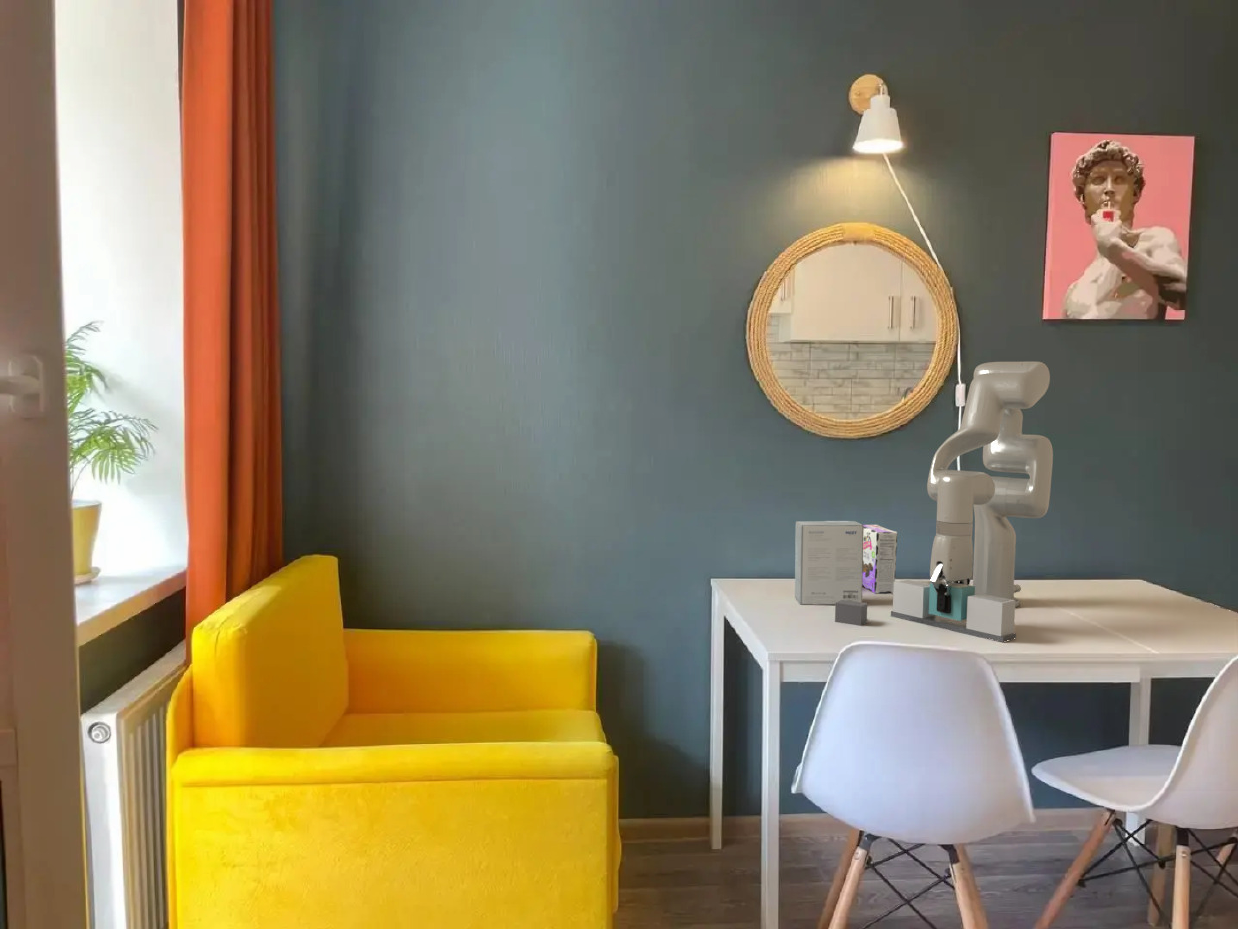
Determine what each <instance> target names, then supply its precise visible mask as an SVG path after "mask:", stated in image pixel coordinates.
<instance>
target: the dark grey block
mask: <svg viewBox="0 0 1238 929" xmlns="http://www.w3.org/2000/svg"><path fill="white" fill-rule="evenodd" d="M834 622H835V623H838V624H839V623H840V624H844V625H846V624H847V625H853V626H860V627H862V626H864V625H865V624H866V623H867V622H868V603H867V602H863V601H862V602H854V601H847V600H840V601H838V602H836V604H835V609H834Z"/></svg>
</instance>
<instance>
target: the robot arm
mask: <svg viewBox="0 0 1238 929" xmlns="http://www.w3.org/2000/svg"><path fill="white" fill-rule="evenodd" d="M1050 378H1051V374H1050V369H1049V368H1048V366H1047V365H1046V364H1045V363H1043V362H1042V361H993V362H992V361H990V362H984V363H981V364H979V365H977V366H976V367H975V369H974V371H973V379H972V381H971V382H970V385H969V389H968V393H967V398H966V402H965V407H964V411H963V415H962V419H961V423H960V427H959V429H958V430H956V432H954V433H953V434H951V435H950V436H949V437H947V439H946V440H945V441H944V442H943V443H942V444H941V445H940V446H939V447H938V448H937V450H936V451H935V454H934V455H933V458H932V460H931V465H930V468H929V473H928V477H927V483H926V488H927V494H928V496H929V497H930V499H932V500H933V501H934V502H936V525H935V526H936V527H935V528H936V529H935V532H936V533H935V535H934V539H933V542H932V543H933V544H932V548H931V556H930V557H931V558H930V567H929V577H930V582H929V583H932V585H933V586H934V588H935V590H936V594H937V611H938V612H942V613H947V614H949V613H951V596H950V595H949V594H950V589H951V584H952V582H954V583H960V584H965V585H970V582H971V580H972V586H975V595H977V594H985V595H990V596H995V597H1000V598H1005V599H1011V600H1015V608H1017V607H1019V606H1020V605H1021V600H1020V599H1019V598H1017V597H1015V596H1014V595H1015V593H1020V592H1021V590H1022V586H1021V585H1019V584H1015V568H1016V567H1015V565H1016V545H1017V544H1016V543H1017V534H1016V530H1015V529H1014V527H1013V525H1012V524H1011V522H1010V521H1009V519H1008V518H1007V517H1009V518H1010V517H1013V518H1025V519H1039V518H1043V517H1045V515H1046V514H1047V512H1048V510H1049V506H1050V498H1051V487H1052V486H1051V485H1052V475H1053V462H1054V460H1053V459H1054V449H1053V446H1052V443H1051V441H1050V439H1049V438H1048V437H1047V436H1044V435H1039V434H1023V419H1024V415H1023V412H1022V410H1025V409H1030V408H1032V407H1034V406H1035V404H1036V403H1038V401H1039V400H1041V398H1042V397H1044V395H1045V394H1046V392H1047V390H1048V389H1049V386H1050V382H1051V379H1050ZM982 447H983V449H982V463H983V465H984V467H985V468H986V469H987V470H989V471H993V472H1001V473H1014V474H1015V473H1016V474H1027V475H1029V478H1020V477H1019V478H1016V477H1007V476H1006V477H1003V476H991V475H989V473H988V474H987V473H986V472H983V471H982V472H981V471H972V470H969V471H968V470H960V469H959V470H957V469H948V468H949V466H950V465H951V464H952V463H953V462H954V460H956V459H957V458H958V457H960V456H962V455H964V454H967V453H969V452H971V451H974V450H976V449H977V450H978V449H980V448H982ZM973 519H974V520H973ZM973 521H974V523H973ZM973 524H974V525H973ZM973 526H974V543H973ZM973 544H974V546H973ZM942 583H945V584H946V587H944V585H943V584H942Z"/></svg>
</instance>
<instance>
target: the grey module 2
mask: <svg viewBox="0 0 1238 929" xmlns="http://www.w3.org/2000/svg"><path fill="white" fill-rule="evenodd" d="M1015 615H1016V607H1015V600H1011V599H1005V598H1000V597H995V596H990V595H985V594H977V595H972V596H968V602H967V619H966V622H967V626H966V628H967V629H971V630H976V631H980V632H984V633H989V634H993V635H997V636H1004V635H1008V634H1012V633H1015V619H1016V618H1015V617H1016V616H1015Z"/></svg>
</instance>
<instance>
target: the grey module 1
mask: <svg viewBox="0 0 1238 929" xmlns="http://www.w3.org/2000/svg"><path fill="white" fill-rule="evenodd" d="M929 592H930V583H928V582H923V581H917V580H912V579H902V580H895V582H894V590H893V594H892V597H893V598H892V611H893V612H897V613H902V614H906V615H910V616H915V617H919V618H926V617H930V616H935V615H933V614H929Z"/></svg>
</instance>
